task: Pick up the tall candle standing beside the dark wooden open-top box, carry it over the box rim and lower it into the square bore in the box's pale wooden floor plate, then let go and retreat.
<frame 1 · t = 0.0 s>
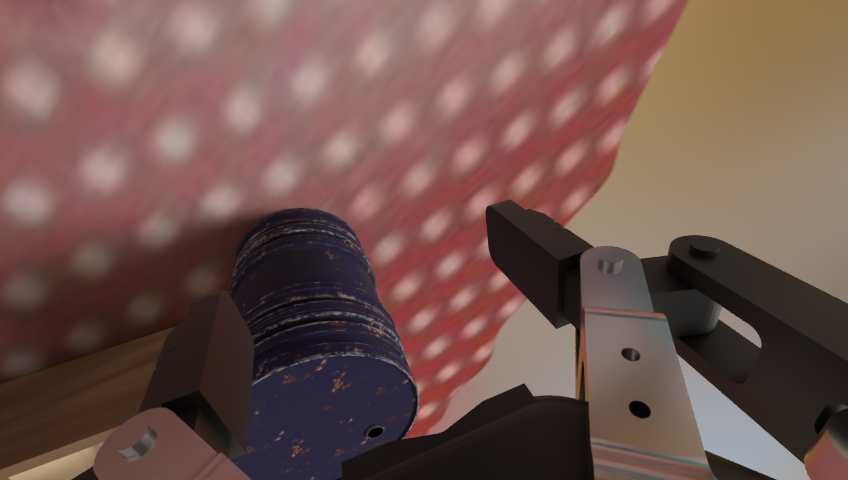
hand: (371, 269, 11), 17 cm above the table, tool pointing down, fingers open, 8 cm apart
peg box: (142, 417, 32), on the table
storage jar: (302, 261, 30), on the table
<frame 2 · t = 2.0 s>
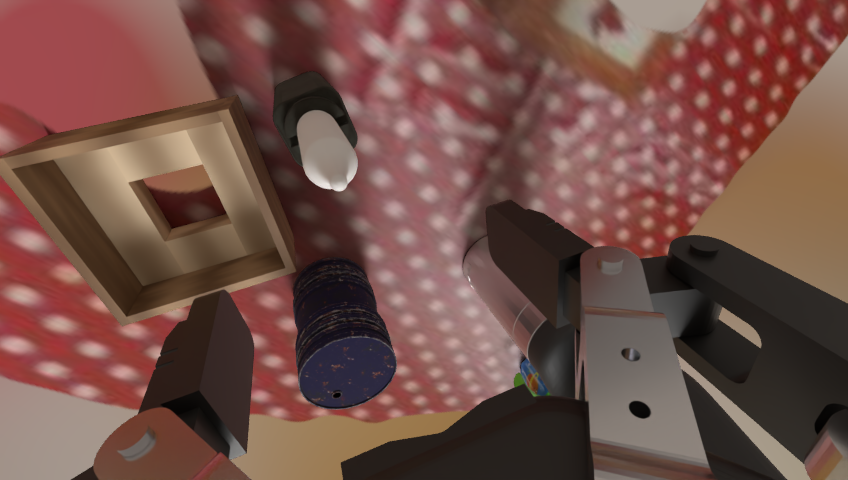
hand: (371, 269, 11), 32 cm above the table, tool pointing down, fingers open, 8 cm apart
snack cup: (535, 360, 72), on the table
peg box: (189, 193, 38), on the table
candle: (306, 102, 38), on the table
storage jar: (331, 288, 49), on the table
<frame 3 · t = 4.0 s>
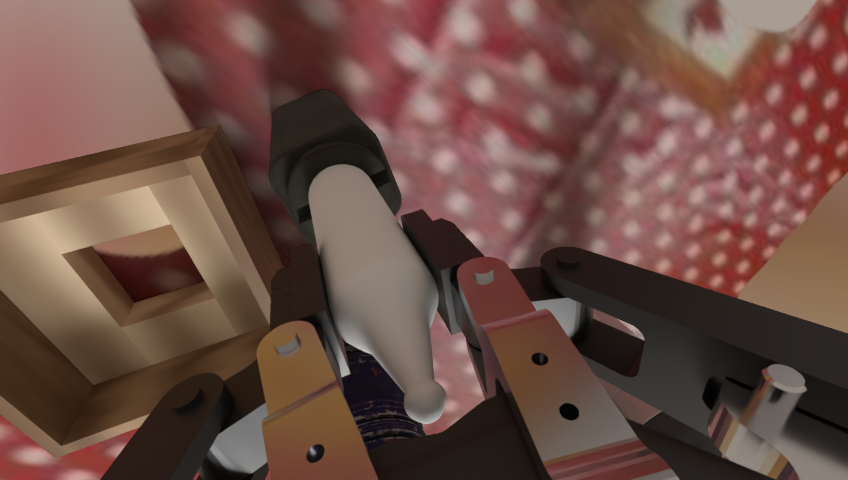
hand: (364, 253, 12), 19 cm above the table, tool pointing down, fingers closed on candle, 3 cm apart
peg box: (156, 256, 28), on the table
candle: (316, 131, 28), on the table, touching gripper
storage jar: (346, 358, 39), on the table
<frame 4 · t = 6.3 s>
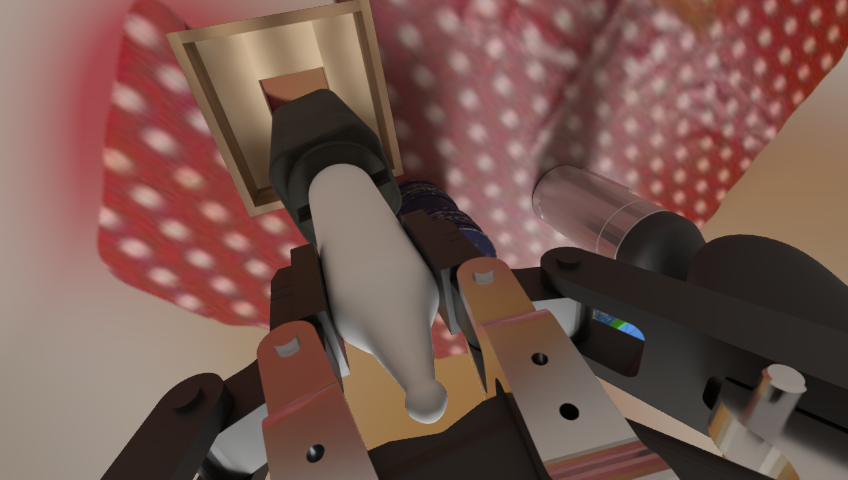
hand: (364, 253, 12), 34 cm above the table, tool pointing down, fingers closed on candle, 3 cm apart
snack cup: (587, 305, 74), on the table
peg box: (301, 102, 41), on the table
candle: (316, 130, 28), point 16 cm above the table, touching gripper
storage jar: (413, 212, 52), on the table
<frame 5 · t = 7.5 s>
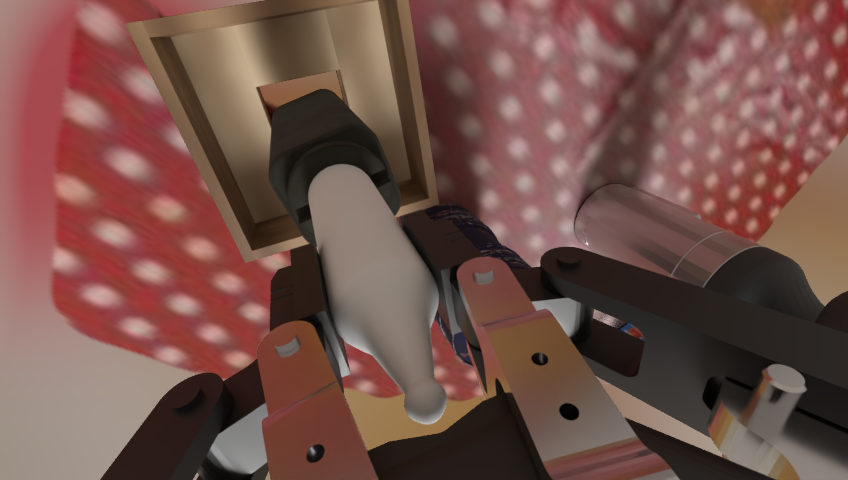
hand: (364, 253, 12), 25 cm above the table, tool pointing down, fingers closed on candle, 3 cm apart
peg box: (309, 113, 33), on the table
candle: (316, 130, 28), point 6 cm above the table, touching gripper
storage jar: (440, 241, 44), on the table
when the fingers open (21 cm above the table, at t = 8.7 s): candle drops 2 cm, resting in peg box.
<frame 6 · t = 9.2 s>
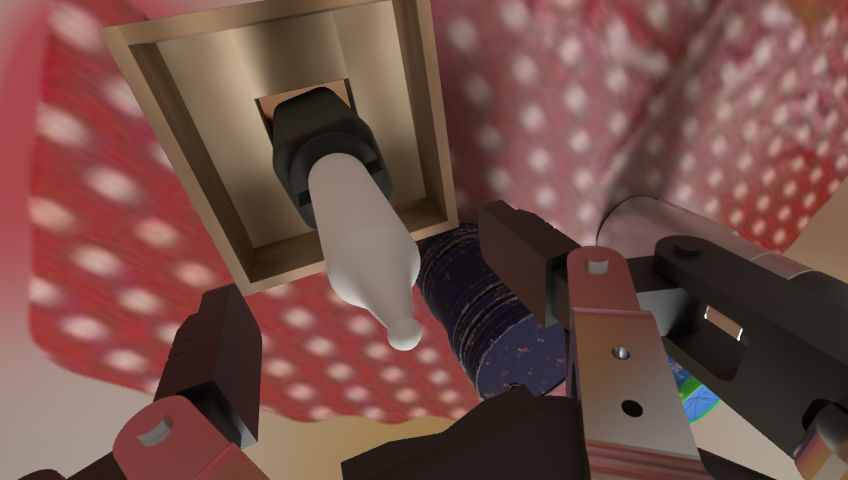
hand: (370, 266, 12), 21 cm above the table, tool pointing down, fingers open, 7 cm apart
snack cup: (644, 352, 63), on the table
peg box: (313, 126, 29), on the table
candle: (314, 126, 30), resting in peg box
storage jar: (454, 260, 40), on the table
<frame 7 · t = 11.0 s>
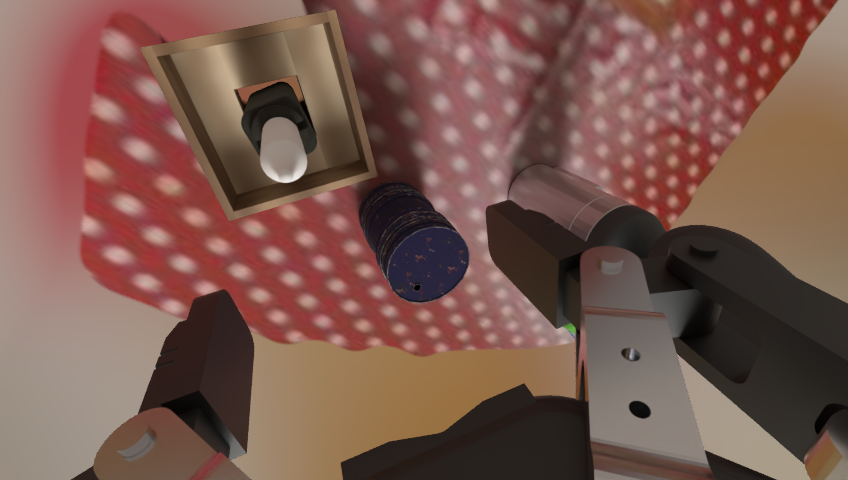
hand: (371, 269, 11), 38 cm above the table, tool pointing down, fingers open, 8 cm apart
peg box: (277, 109, 42), on the table
candle: (278, 109, 42), resting in peg box
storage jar: (392, 213, 53), on the table
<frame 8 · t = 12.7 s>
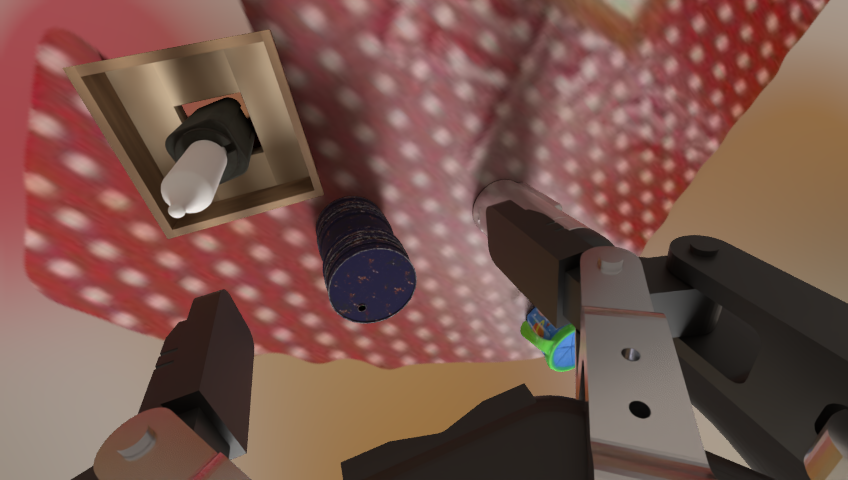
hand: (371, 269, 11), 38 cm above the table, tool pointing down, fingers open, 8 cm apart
snack cup: (540, 314, 75), on the table
peg box: (224, 125, 42), on the table
candle: (226, 124, 42), resting in peg box
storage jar: (351, 227, 53), on the table
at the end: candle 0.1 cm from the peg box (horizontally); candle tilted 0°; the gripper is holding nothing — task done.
